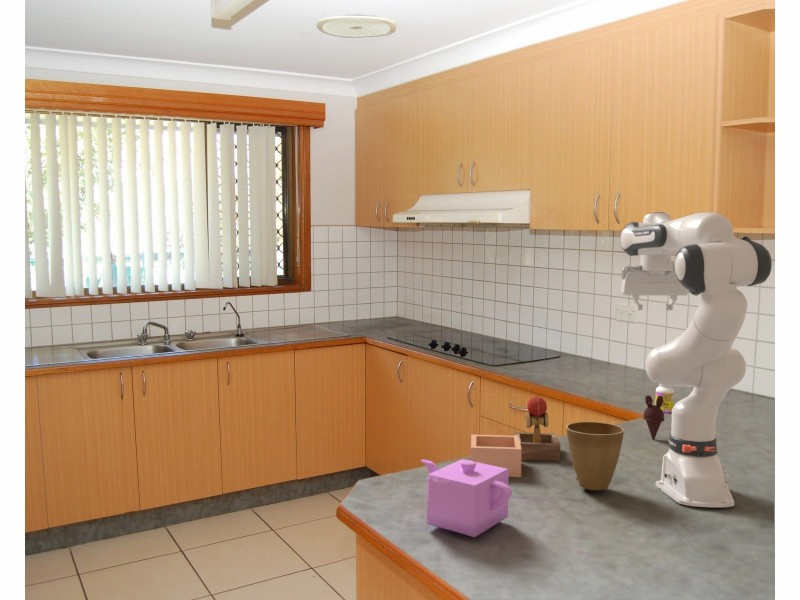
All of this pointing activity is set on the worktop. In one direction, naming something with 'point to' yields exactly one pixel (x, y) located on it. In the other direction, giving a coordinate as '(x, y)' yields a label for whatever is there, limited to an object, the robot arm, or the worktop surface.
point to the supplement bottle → (666, 397)
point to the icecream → (653, 414)
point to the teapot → (467, 496)
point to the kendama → (536, 416)
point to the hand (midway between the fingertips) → (654, 310)
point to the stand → (497, 452)
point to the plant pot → (594, 452)
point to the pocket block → (539, 447)
